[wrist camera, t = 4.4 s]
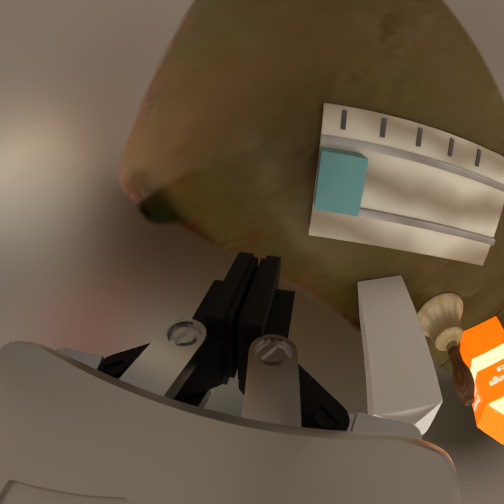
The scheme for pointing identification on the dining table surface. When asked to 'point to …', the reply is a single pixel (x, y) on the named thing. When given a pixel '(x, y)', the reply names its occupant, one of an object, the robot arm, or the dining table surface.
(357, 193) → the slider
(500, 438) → the orange juice
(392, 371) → the milk
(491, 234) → the count board
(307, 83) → the dining table surface
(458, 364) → the hand bell
